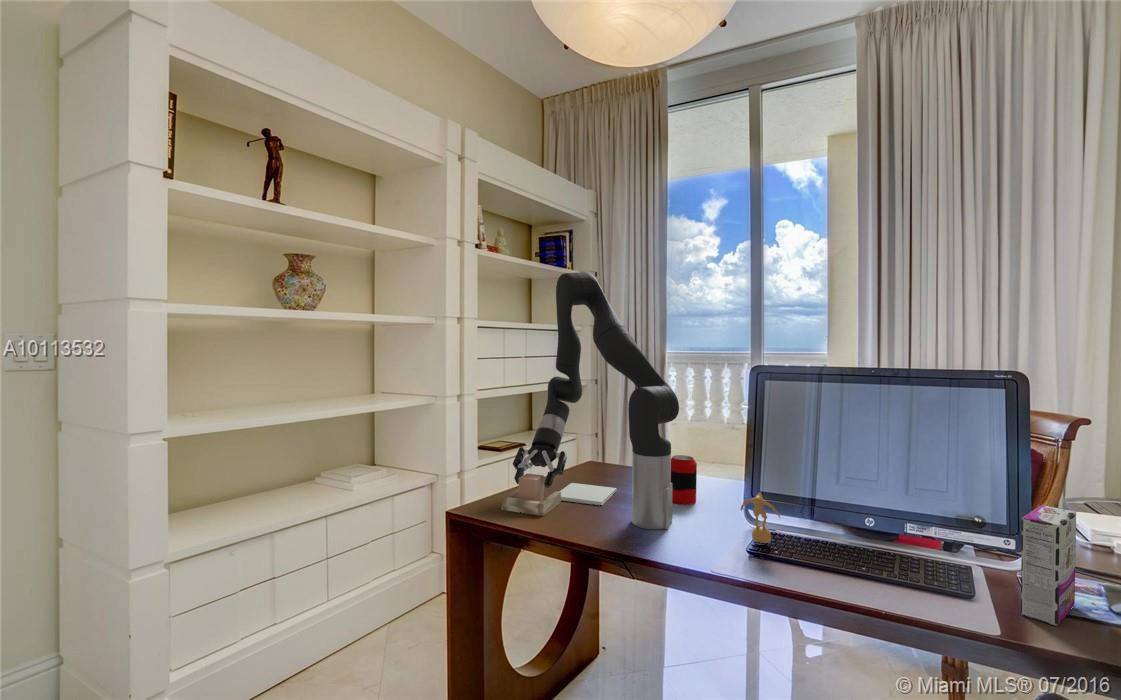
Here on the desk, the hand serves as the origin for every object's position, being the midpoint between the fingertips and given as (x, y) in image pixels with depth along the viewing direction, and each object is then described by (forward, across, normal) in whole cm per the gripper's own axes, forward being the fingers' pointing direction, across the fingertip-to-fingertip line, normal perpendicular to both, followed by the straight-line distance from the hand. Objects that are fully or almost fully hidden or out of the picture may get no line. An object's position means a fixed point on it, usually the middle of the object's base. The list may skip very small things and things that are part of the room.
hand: (531, 484), depth 142 cm
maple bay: (+4, 0, +4) cm, 6 cm away
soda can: (-10, +36, +19) cm, 42 cm away
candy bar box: (+15, +102, -7) cm, 104 cm away
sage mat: (-6, +10, +14) cm, 19 cm away
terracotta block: (+4, 0, +4) cm, 6 cm away
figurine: (+8, +57, 0) cm, 58 cm away
